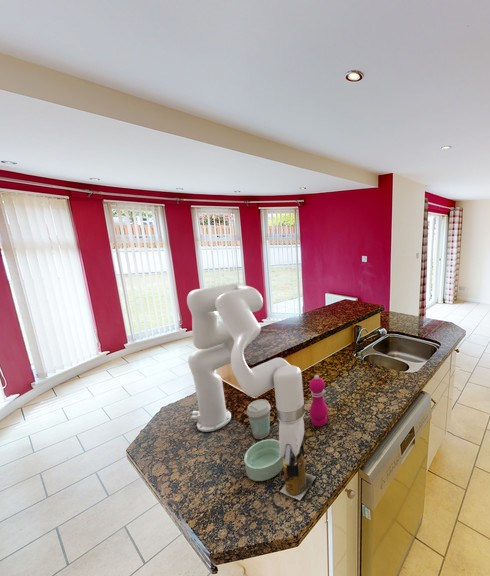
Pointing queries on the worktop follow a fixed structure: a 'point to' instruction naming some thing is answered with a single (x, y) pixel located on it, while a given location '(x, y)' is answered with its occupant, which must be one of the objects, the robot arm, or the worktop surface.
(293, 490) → the condiment
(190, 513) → the worktop surface
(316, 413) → the pepper mill
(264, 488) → the worktop surface
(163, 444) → the worktop surface
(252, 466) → the bowl
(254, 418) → the coffee cup
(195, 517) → the worktop surface
